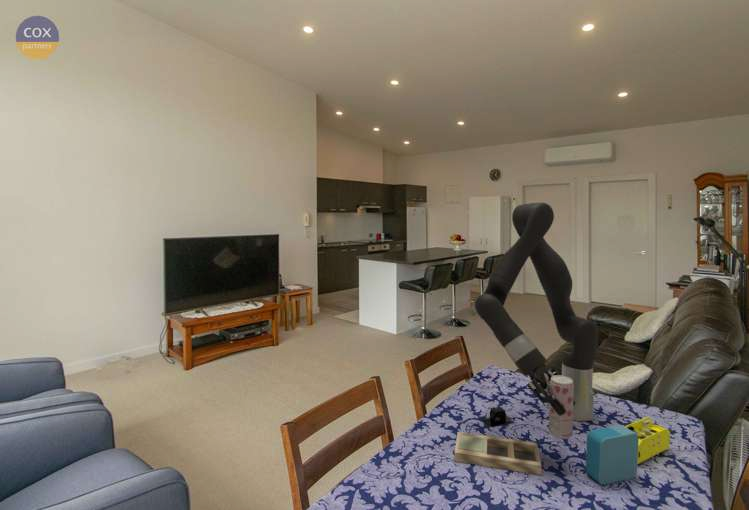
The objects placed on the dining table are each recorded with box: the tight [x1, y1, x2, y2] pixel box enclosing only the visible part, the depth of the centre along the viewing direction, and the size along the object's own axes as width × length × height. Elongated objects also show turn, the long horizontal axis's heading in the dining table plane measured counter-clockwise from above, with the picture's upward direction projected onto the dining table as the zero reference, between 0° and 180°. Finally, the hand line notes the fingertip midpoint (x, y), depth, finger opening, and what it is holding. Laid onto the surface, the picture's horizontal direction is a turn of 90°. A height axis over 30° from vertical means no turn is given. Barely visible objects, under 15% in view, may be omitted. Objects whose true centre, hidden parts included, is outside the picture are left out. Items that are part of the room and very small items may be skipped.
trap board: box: [453, 431, 543, 476], centre depth 109 cm, size 22×11×3 cm, turn 74°
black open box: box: [480, 406, 516, 428], centre depth 129 cm, size 12×7×5 cm, turn 106°
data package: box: [585, 424, 639, 486], centre depth 100 cm, size 12×4×12 cm, turn 106°
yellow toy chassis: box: [624, 416, 671, 465], centre depth 110 cm, size 16×6×8 cm, turn 118°
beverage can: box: [548, 374, 574, 440], centre depth 104 cm, size 6×6×15 cm
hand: (568, 409), depth 103 cm, fingers closed on beverage can, 5 cm apart
